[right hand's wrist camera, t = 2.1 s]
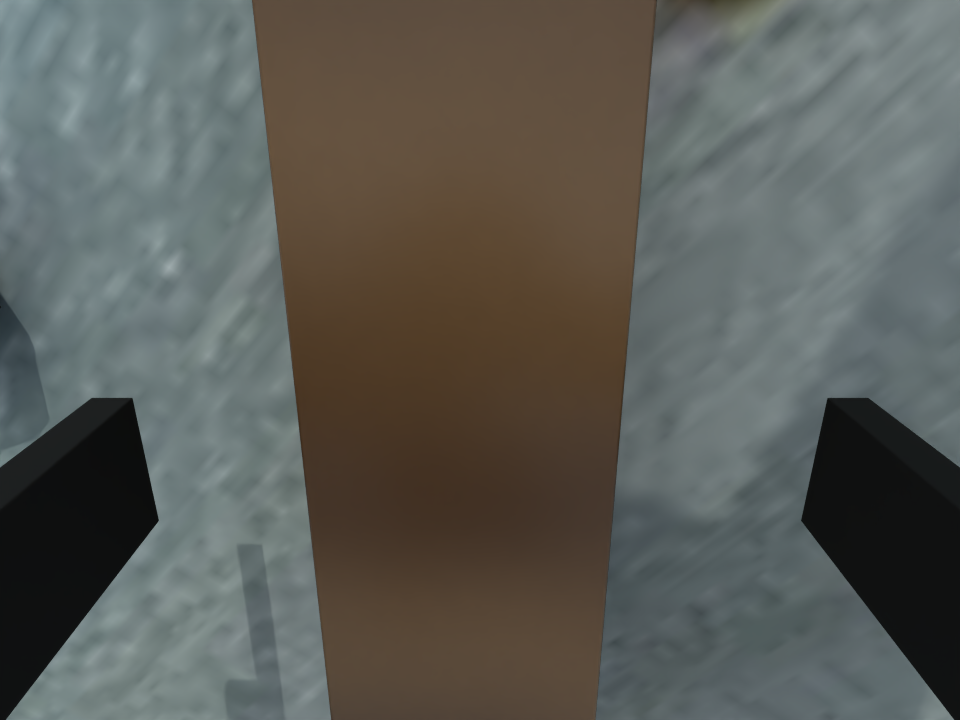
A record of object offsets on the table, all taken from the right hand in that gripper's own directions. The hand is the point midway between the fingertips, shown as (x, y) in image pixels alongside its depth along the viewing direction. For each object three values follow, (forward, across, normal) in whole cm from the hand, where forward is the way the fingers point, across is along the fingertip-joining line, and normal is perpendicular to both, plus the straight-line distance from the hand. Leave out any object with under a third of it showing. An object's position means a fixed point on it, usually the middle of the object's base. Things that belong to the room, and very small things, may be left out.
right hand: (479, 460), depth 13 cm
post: (+6, 0, -26) cm, 27 cm away
